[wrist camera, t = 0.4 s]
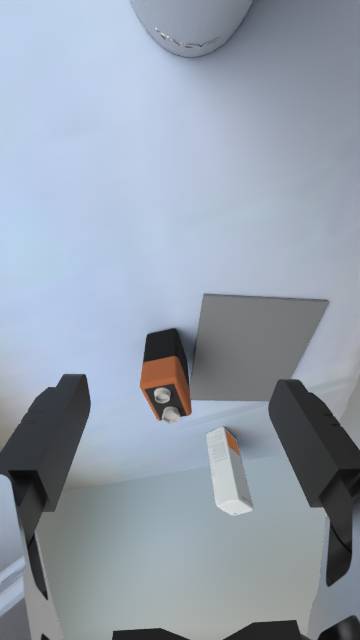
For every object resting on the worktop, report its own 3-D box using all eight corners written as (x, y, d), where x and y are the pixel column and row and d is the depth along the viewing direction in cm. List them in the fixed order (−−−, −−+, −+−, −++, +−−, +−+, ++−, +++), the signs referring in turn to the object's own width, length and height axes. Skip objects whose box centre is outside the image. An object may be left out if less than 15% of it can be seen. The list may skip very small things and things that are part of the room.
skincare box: (237, 438, 47) (255, 510, 37) (219, 445, 48) (231, 516, 38) (223, 425, 44) (239, 499, 34) (204, 432, 45) (214, 506, 36)
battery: (160, 367, 35) (157, 429, 26) (145, 333, 31) (136, 393, 23) (187, 361, 34) (193, 423, 26) (176, 326, 31) (178, 385, 22)
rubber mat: (203, 293, 28) (204, 295, 27) (326, 300, 29) (329, 302, 29) (188, 397, 39) (188, 400, 39) (277, 399, 40) (278, 401, 40)
